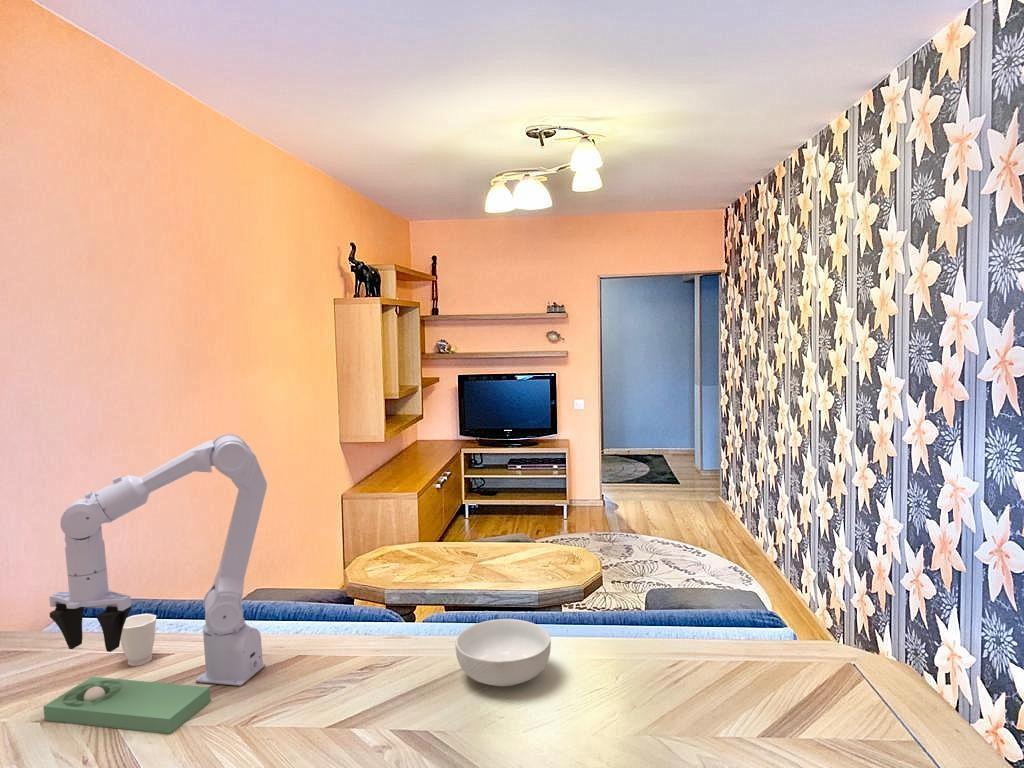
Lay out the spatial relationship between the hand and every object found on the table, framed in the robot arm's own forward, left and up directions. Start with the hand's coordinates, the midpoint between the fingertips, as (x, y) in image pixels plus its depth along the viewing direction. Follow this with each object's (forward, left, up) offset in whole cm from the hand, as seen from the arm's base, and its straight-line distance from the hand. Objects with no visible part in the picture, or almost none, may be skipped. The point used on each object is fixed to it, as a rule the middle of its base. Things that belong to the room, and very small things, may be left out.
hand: (94, 647), depth 120 cm
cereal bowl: (-67, -20, -10) cm, 71 cm away
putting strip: (-7, +1, -10) cm, 12 cm away
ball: (0, +1, -8) cm, 8 cm away
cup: (+6, -16, -10) cm, 20 cm away
